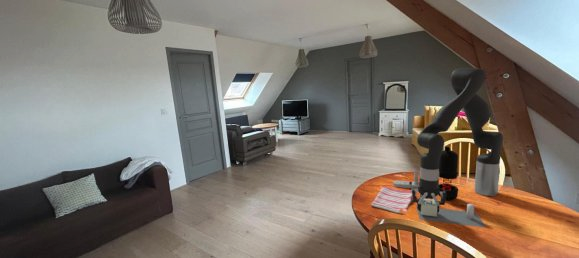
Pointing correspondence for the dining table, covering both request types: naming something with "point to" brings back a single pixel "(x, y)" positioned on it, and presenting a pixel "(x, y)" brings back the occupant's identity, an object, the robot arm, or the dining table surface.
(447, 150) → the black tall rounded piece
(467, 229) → the dining table surface
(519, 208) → the dining table surface
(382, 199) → the dish towel
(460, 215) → the board
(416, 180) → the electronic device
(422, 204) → the collar
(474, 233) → the dining table surface
